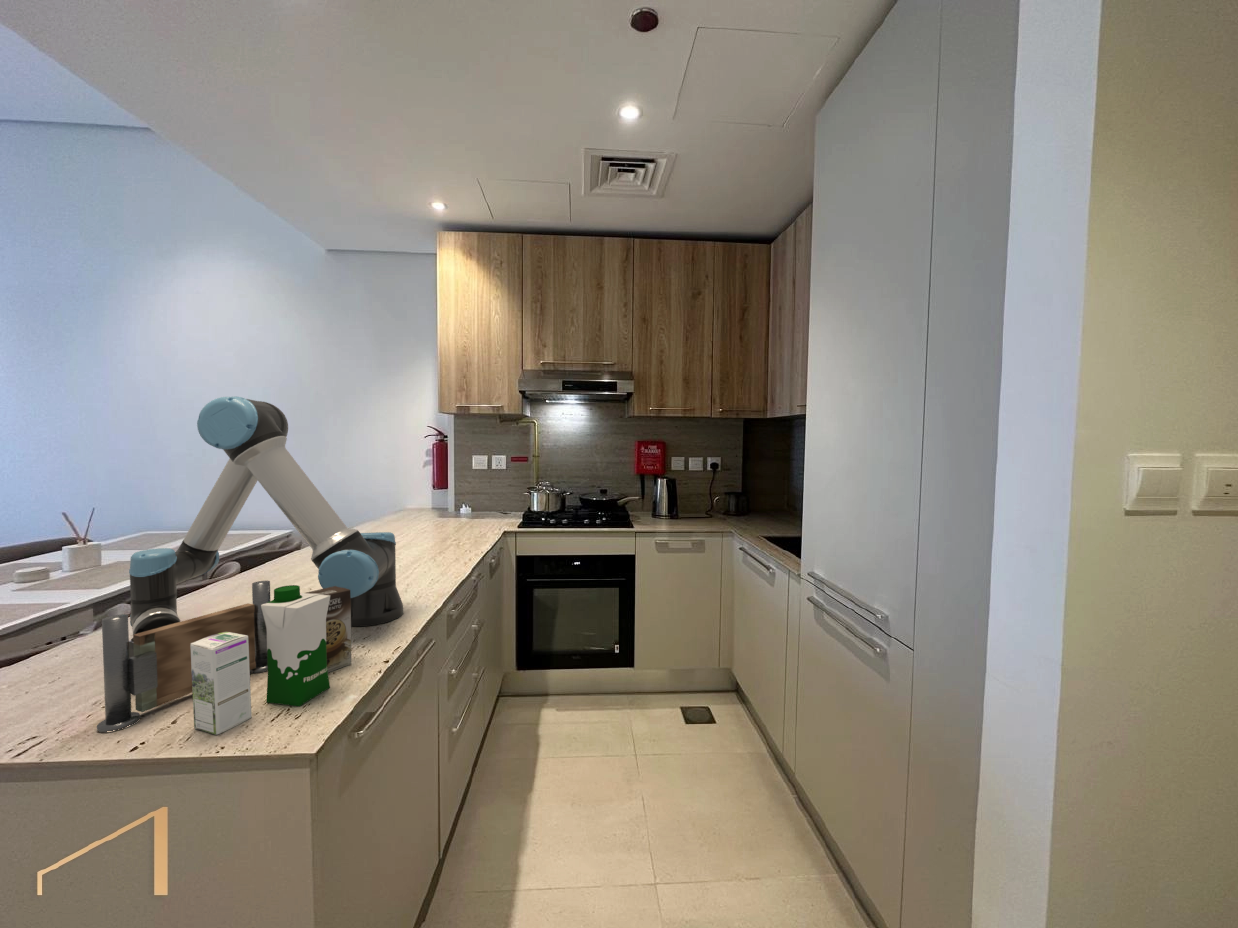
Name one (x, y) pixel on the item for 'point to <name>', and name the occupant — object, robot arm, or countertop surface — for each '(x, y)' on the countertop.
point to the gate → (187, 650)
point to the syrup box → (220, 682)
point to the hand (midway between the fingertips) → (167, 664)
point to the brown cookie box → (337, 627)
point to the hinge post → (260, 624)
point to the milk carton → (296, 645)
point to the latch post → (123, 674)
